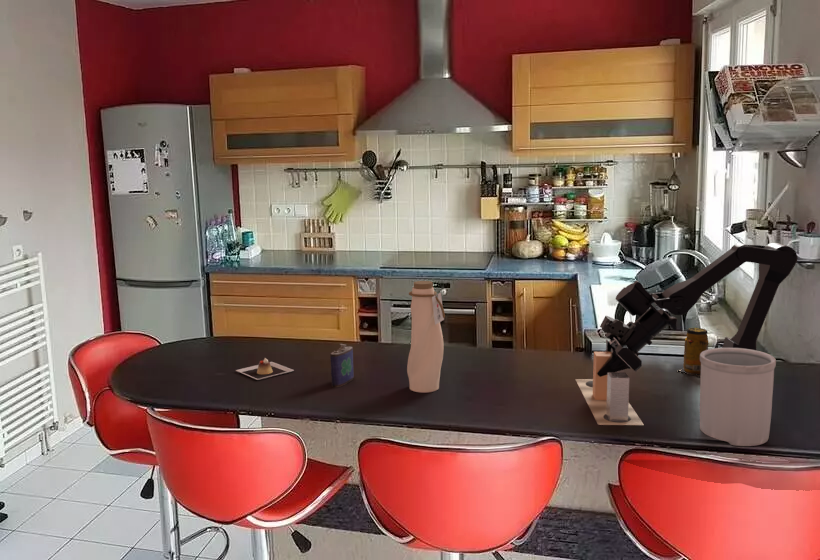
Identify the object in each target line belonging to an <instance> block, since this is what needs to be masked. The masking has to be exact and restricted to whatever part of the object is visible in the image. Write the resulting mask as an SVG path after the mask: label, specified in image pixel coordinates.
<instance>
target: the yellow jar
mask: <svg viewBox="0 0 820 560" xmlns="http://www.w3.org/2000/svg"><path fill="white" fill-rule="evenodd" d="M683 347H684V350H683V352H684V353H683V367H682V368H683V369H684V371H685V372H686V373H687V374H686V375H691V376H695V377H700V378H701V362H700V354H701V352H703V351H705V350H709V340H708V329H705V328H701V327H689V328H687V330H686V337H685V339H684V346H683ZM678 370H679V371H681V370H682V369H678Z"/></svg>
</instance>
